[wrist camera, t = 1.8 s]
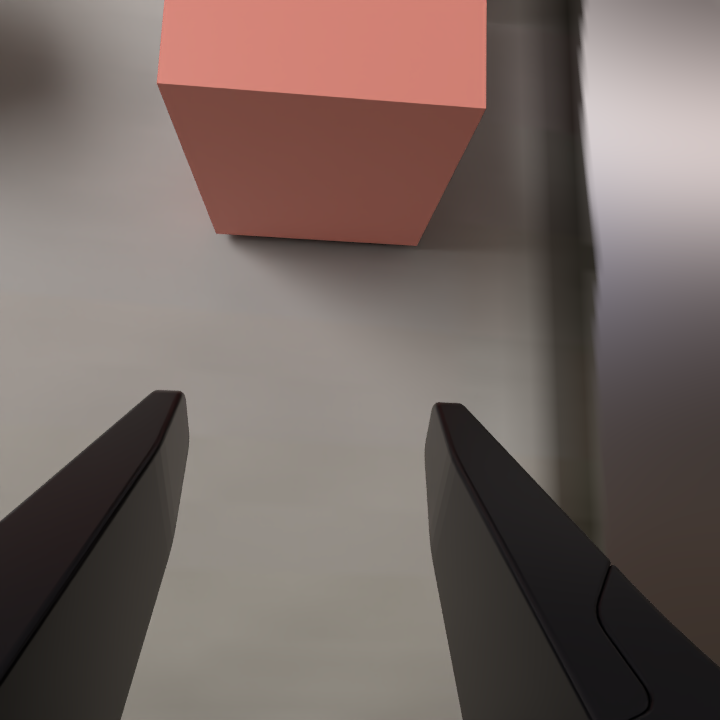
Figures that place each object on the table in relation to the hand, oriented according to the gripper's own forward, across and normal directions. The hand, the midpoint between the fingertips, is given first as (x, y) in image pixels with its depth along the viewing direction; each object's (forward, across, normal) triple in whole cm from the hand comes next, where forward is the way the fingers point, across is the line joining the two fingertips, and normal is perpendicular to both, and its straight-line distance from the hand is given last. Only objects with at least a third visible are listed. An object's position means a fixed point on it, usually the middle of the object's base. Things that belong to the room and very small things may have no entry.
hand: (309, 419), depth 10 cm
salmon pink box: (+17, 0, 0) cm, 17 cm away
